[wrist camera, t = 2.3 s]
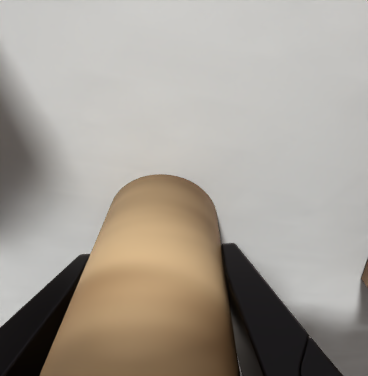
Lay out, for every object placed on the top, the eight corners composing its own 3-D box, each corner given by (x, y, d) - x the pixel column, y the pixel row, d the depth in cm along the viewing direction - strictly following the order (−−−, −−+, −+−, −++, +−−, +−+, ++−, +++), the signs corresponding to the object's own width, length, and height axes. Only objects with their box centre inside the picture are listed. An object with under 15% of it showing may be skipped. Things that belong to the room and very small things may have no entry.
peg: (219, 255, 11) (270, 636, 4) (123, 262, 11) (25, 629, 4) (213, 168, 9) (297, 655, 2) (96, 180, 9) (-168, 639, 2)
